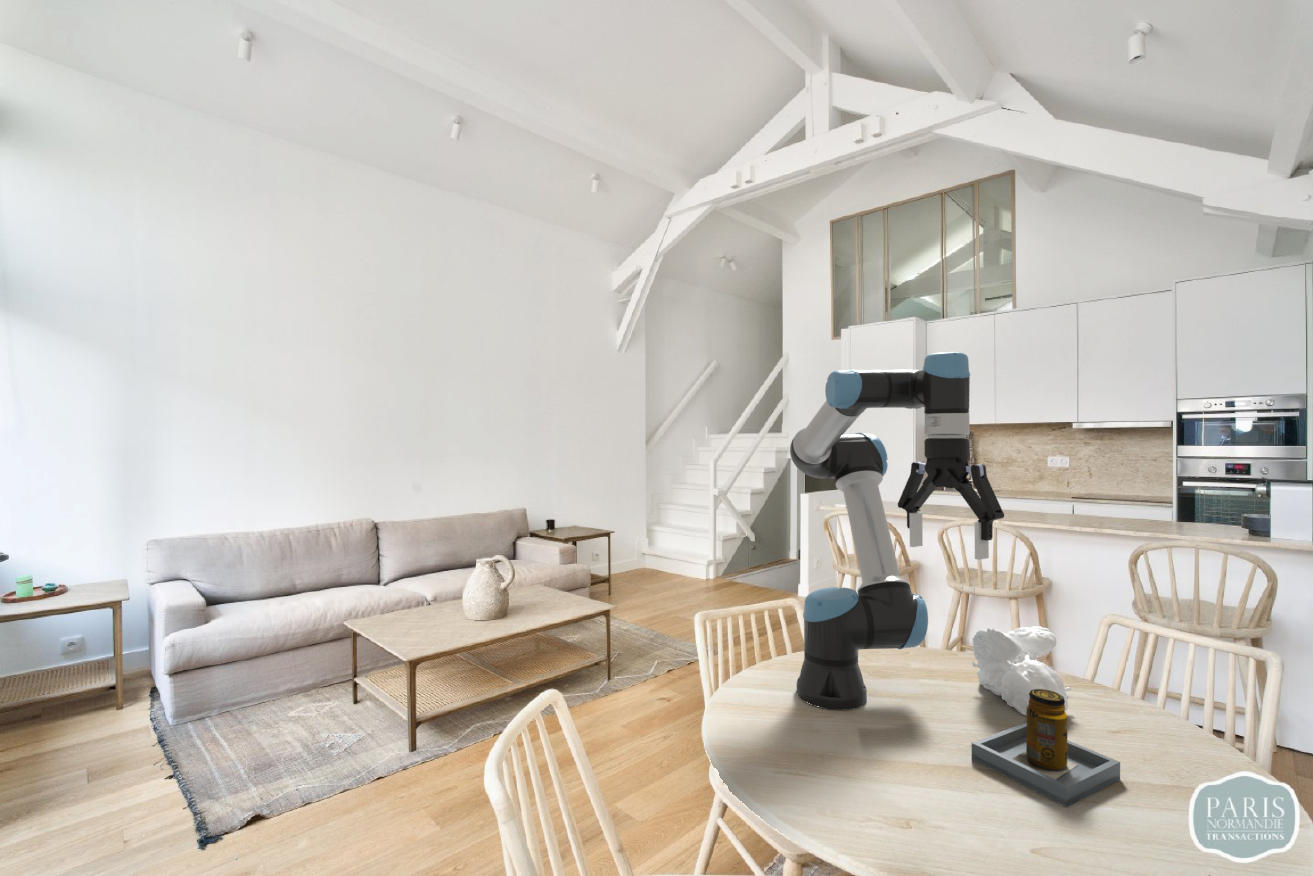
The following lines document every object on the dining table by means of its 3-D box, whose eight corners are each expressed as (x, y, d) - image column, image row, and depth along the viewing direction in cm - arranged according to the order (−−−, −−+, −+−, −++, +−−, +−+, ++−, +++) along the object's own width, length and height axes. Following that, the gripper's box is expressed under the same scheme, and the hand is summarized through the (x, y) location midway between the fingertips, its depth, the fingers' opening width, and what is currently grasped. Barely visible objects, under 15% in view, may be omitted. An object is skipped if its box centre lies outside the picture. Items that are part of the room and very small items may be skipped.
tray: (971, 759, 109) (971, 742, 109) (1025, 738, 117) (1025, 722, 117) (1065, 807, 95) (1065, 788, 95) (1120, 779, 103) (1120, 762, 103)
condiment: (1077, 765, 105) (1077, 696, 105) (1055, 781, 101) (1054, 709, 100) (1032, 747, 111) (1032, 682, 111) (1009, 761, 107) (1009, 693, 107)
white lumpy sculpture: (1060, 691, 116) (982, 613, 132) (1005, 754, 126) (937, 674, 141) (1117, 679, 125) (1036, 606, 140) (1061, 739, 134) (991, 665, 149)
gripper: (878, 437, 121) (879, 543, 122) (999, 437, 99) (999, 566, 99) (904, 437, 125) (905, 540, 125) (1026, 436, 103) (1027, 562, 103)
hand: (947, 552), depth 112 cm, fingers open, 13 cm apart
